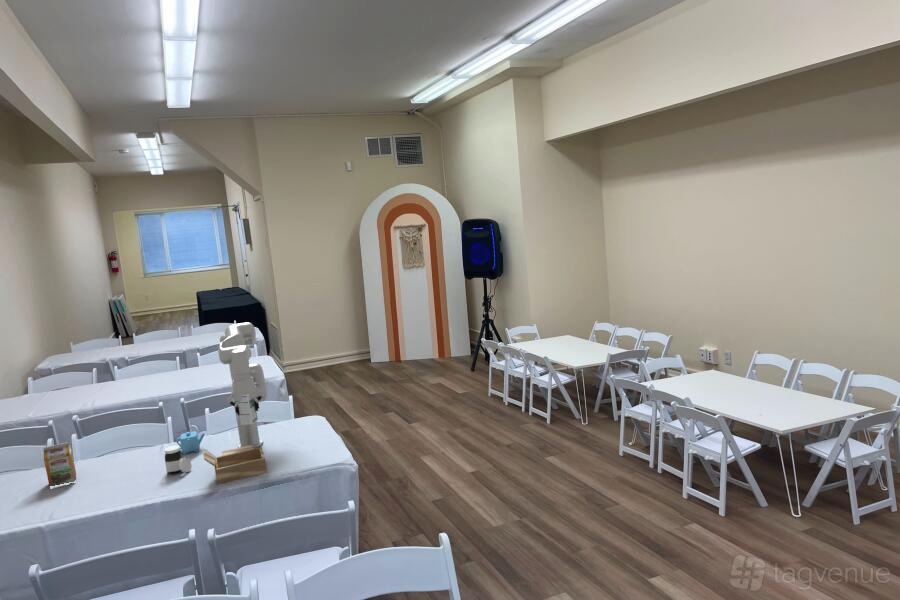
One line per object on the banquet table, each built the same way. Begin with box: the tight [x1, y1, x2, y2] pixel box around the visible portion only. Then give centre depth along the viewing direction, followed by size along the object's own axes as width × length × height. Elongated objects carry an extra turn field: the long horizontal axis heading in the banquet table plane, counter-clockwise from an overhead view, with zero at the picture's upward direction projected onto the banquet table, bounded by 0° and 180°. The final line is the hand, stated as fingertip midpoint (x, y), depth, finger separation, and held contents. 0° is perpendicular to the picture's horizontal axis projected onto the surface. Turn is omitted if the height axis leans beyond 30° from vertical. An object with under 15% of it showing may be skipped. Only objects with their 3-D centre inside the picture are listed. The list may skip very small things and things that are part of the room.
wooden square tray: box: [214, 445, 268, 485], centre depth 305 cm, size 22×22×7 cm
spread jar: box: [164, 444, 193, 475], centre depth 310 cm, size 12×11×12 cm
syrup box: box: [238, 394, 258, 425], centre depth 301 cm, size 6×6×14 cm
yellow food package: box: [42, 442, 77, 488], centre depth 309 cm, size 11×11×19 cm
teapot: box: [175, 430, 206, 455], centre depth 336 cm, size 18×14×10 cm
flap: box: [203, 448, 217, 468], centre depth 297 cm, size 13×7×1 cm
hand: (247, 412), depth 302 cm, fingers closed on syrup box, 7 cm apart
